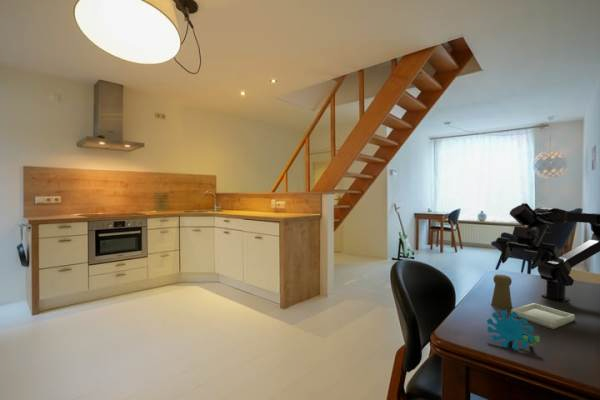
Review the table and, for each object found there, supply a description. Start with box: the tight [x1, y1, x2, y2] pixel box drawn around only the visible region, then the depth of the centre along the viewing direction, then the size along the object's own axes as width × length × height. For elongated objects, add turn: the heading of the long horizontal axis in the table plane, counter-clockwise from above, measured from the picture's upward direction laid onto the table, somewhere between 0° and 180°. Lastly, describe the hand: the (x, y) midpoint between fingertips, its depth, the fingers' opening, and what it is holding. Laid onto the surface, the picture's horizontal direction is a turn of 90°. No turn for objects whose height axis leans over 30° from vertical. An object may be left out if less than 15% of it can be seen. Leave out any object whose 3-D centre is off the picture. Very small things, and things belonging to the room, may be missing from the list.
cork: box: [491, 274, 513, 311], centre depth 101 cm, size 6×6×11 cm
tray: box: [510, 302, 576, 330], centre depth 93 cm, size 14×11×2 cm
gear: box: [486, 309, 541, 351], centre depth 76 cm, size 11×6×10 cm
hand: (516, 265), depth 105 cm, fingers open, 9 cm apart
